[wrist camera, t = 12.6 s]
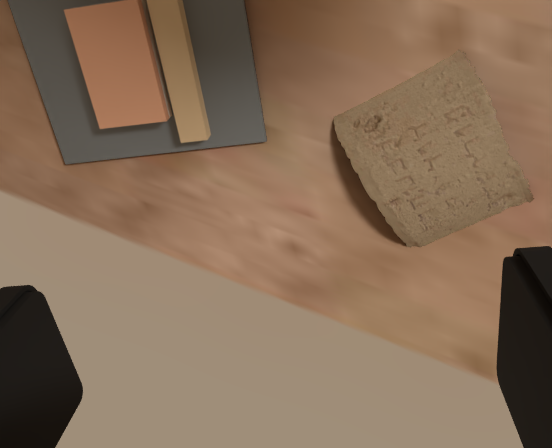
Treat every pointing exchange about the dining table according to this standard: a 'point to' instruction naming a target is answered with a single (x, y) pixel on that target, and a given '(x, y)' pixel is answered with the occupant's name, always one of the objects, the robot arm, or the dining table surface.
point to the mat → (176, 70)
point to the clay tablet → (433, 153)
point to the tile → (120, 62)
